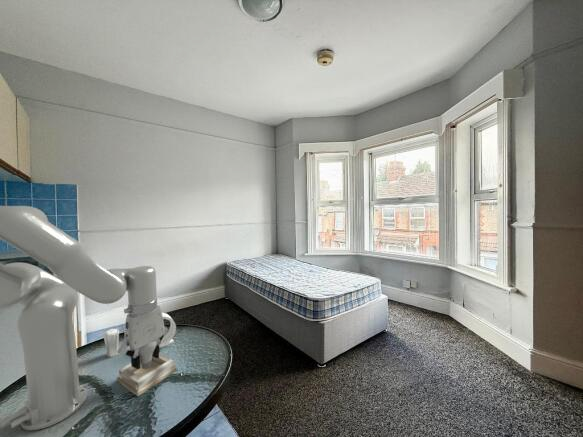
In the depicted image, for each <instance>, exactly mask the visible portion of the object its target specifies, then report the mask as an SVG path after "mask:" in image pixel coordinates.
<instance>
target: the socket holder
mask: <svg viewBox="0 0 583 437" xmlns="http://www.w3.org/2000/svg"><path fill="white" fill-rule="evenodd" d="M176 371H177V367H176V366H175V360H174V359H172V358H170V357H167V356H166V355H163V354H162V353H161V352H159V358H155V357H153V356H152V360H151V366H150V367H149V368H148V369H143V368H142V363H141V361H140V369H136V368H134V367H132V365H131V363H129V364H127V365H125V366H123V367H122V368H120V369H118V374H119V375H118V377H116V381H117V382H118V383H119V384H120V385H122V387H124V388H126V389H127V390H128V391H130V392H131V393H133V394H134V395H135V396H137V397H139V396H141V395H142V394H144V393H145V392H147V391H148V390H149V389H151V388H153V387H155V385H157V384H159V383H160V382H162V381H163V380H164V379H166V378H167V377H170V375H172V374H173V373H174V372H176Z"/></svg>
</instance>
